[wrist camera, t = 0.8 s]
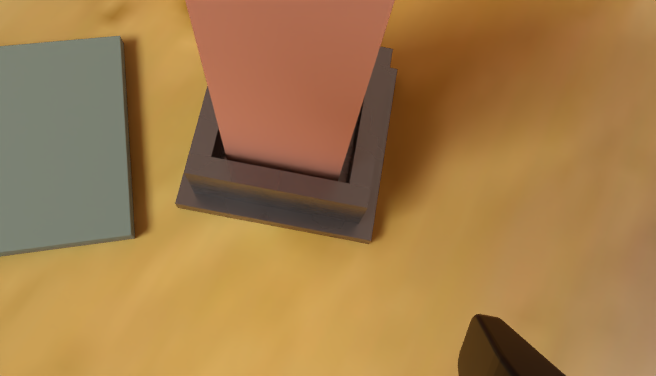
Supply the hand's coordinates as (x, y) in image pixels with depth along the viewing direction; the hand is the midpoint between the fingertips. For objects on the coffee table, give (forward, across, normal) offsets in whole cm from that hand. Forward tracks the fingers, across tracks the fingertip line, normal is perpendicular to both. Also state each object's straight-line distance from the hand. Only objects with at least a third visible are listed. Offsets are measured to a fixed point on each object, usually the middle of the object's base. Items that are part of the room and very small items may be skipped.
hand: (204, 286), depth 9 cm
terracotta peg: (+15, 0, +2) cm, 15 cm away
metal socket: (+15, 0, +2) cm, 15 cm away
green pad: (+13, +11, +4) cm, 18 cm away
